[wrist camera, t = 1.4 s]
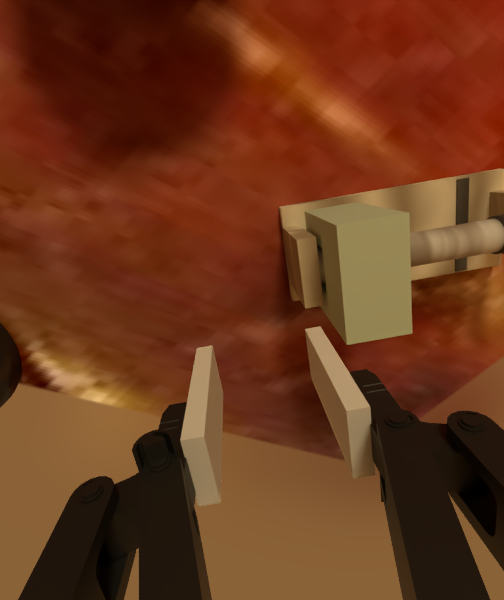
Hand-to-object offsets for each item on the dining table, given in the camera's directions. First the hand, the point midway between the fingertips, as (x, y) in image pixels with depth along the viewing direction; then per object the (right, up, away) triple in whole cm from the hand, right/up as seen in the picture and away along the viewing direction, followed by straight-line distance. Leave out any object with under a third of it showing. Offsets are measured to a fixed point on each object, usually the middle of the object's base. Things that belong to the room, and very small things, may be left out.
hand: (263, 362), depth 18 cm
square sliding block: (+8, +8, +19) cm, 22 cm away
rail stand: (+14, +10, +22) cm, 28 cm away
